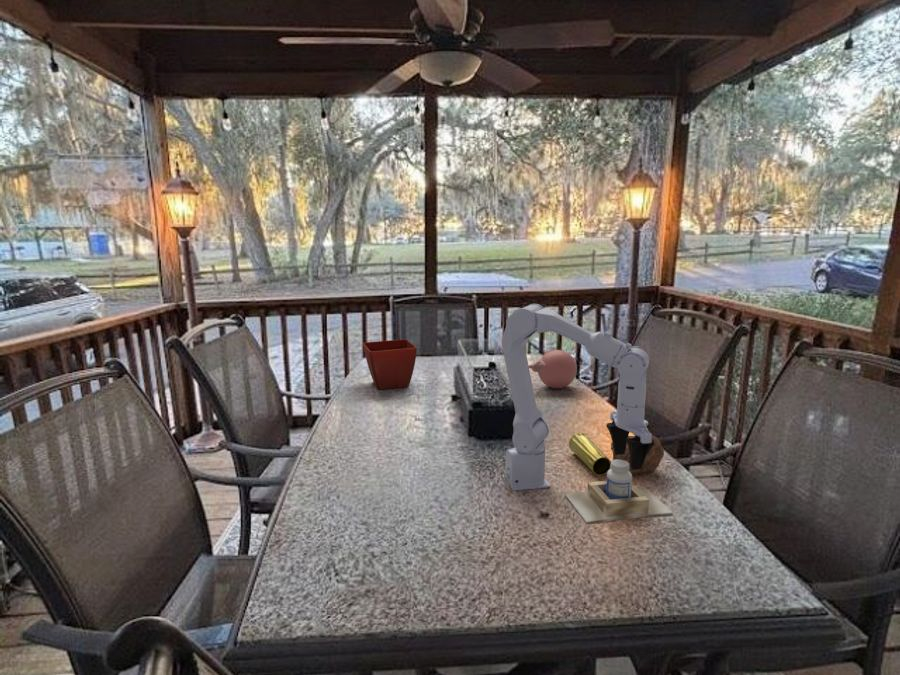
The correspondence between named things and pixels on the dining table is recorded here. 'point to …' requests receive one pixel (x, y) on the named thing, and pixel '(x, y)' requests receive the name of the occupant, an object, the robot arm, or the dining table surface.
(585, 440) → the vase
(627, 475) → the pill bottle
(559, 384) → the balloon
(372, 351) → the plant pot
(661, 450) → the decorative rock
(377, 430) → the dining table surface
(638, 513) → the socket block
